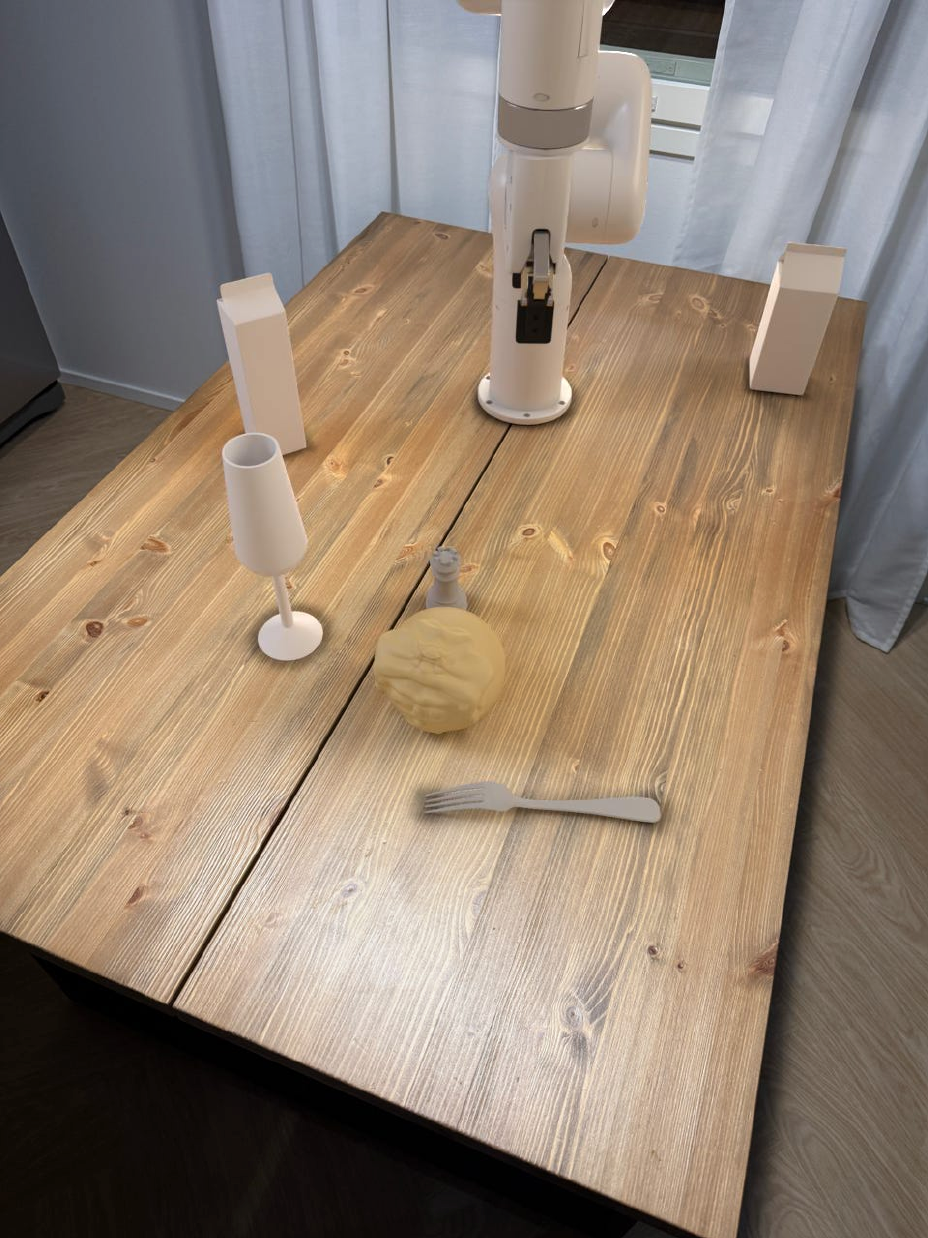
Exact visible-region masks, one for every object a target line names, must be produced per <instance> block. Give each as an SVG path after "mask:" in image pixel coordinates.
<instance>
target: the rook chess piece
mask: <svg viewBox="0 0 928 1238" xmlns="http://www.w3.org/2000/svg"><path fill="white" fill-rule="evenodd" d="M429 564H430V565H429V566H431V568H432V570H431V572H432V576H433V584H432V585H431V587H430V588H429V589H428V591H427V594H426V597H425V609H429V608H434V607H454V608H459V609H462V610H465V611H467V607H468V602H467V601H468V599H467V594H466V591H465V590H464V589H463V586H461V585H460V583H459V582H460V581H459V576H460V573H461V571H460V567H461V566H462V564H463V558H462V555H460V554H459V551H458V550H457V548H453V549H452V546H451V545H446V547H445V548H443V545H441V546H438V547H437V550H433V554H432V555H431V556H430V559H429Z"/></svg>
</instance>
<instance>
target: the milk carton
mask: <svg viewBox="0 0 928 1238" xmlns="http://www.w3.org/2000/svg"><path fill="white" fill-rule="evenodd" d="M847 251H848V247H842V246H832V245H822V244H813V243H812V244H811V243H805V242H804V243H803V242H793V241H788V242H787V243H786V246H785V250H784V252H783V253H782V254H781V255H780V257H779V258H778V260H777V262H776V266H775V269H774V274H773V276H772V281H771V284H770V287H769V290H768V295H767V298H766V302H765V305H764V309H763V312H762V315H761V318H760V322H759V326H758V328H757V333H756V336H755V339H754V343H753V347H752V350H751V353H750V357H749V389H750V390H755V391H762V392H772V393H779V394H788V395H796V396H803V395H805V394H804V393H805V391H806V388H807V385H808V383H809V379H810V377H811V374H812V371H813V368H814V366H815V363H816V359H817V356H818V353H819V351H820V347H821V345H822V342H823V340H824V337H825V333H826V331H827V328H828V325H829V322H830V319H831V317H832V314H833V311H834V309H835V305H836V302H837V299H838V297H839V294H840V289H841V282H842V276H843V270H844V265H845V258H846V255H847Z"/></svg>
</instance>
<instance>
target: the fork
mask: <svg viewBox="0 0 928 1238" xmlns="http://www.w3.org/2000/svg"><path fill="white" fill-rule="evenodd" d="M461 791H462V792H461ZM455 792H456V793H455ZM447 793H452V794H447ZM442 794H447V795H443V796H439V797H435V798H431V799H427V800H425V801H424V803H431V802H436V803H432V804H429V805H427V804H426V805H424V808H431V807H439V806H444V807H440V808H437V809H436V808H435V809H430V810H426V811H424V812H423V814H432V813H442V812H450V811H461V810H480V809H481V810H489V811H496V812H507V811H509V810H510V809H512V808H514V807H517V808H524V809H535V810H544V811H556V812H557V811H558V812H570V813H571V812H572V813H581V814H588V815H589V814H590V815H597V816H603V817H610V818H615V819H621V820H628V821H635V822H641V823H643V822H644V823H651V824H656V823H657V822H659V821H660V819H661V818H662V814H661V807H660V805H659V803H658V802H657V801H656V800H654V799H653V798H651V797H646V796H645V797H644V796H636V795H635V796H634V795H633V796H614V797H603V798H589V799H587V798H586V799H565V800H563V799H562V800H561V799H558V800H557V799H555V800H554V799H551V800H550V799H530V798H524V797H521V796H516V795H515V794H514V793H513V792H511V791H510V789H509V788H508V786H507V785H505V784H504V783H501V782H498V781H497V782H496V781H480V782H472V783H467V784H462V785H457V786H454V787H450V788H446V789H442V790H439V791H436V792H431V793H428V794H425V795H424V796H425V798H426V797H432V796H437V795H442ZM449 799H450V800H449ZM443 800H445V801H443ZM437 801H439V802H437ZM440 801H441V802H440ZM454 804H457V805H454ZM446 805H450V806H446ZM445 806H446V807H445Z"/></svg>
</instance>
